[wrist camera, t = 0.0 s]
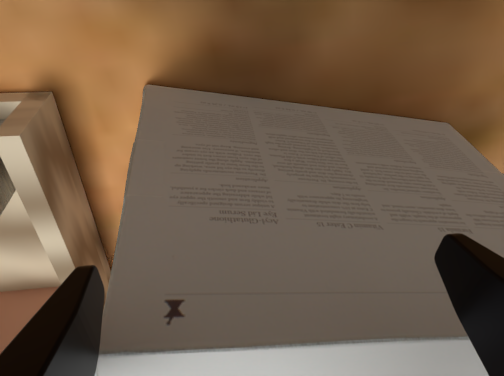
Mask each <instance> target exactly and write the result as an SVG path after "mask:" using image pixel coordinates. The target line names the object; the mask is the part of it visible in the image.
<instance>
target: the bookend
mask: <svg viewBox="0 0 504 376" xmlns="http://www.w3.org/2000/svg"><path fill="white" fill-rule="evenodd" d="M5 120H6V119H0V126H1V125H2V123H3V122H4V121H5ZM15 191H16V188H15V186H14V184H13V182H12V180H11V178H10V176H9V174H8V172H7V169H6V167H5V165H4V163H3V161H2V159H1V157H0V216H1V214H2V212H3V211H4V209H5V207H6V206H7V204H8V202H9V201H10V199H11V197H12V196H13V194H14V193H15Z"/></svg>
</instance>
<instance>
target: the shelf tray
mask: <svg viewBox="0 0 504 376" xmlns="http://www.w3.org/2000/svg"><path fill="white" fill-rule="evenodd" d="M0 119H6V120H5V121H4V122H3V123H2V125H1V126H0V157H1V159H2V161H3V163H4V165H5V167H6V169H7V172H8V174H9V176H10V178H11V180H12V182H13V184H14V186H15V188H16V191H15V193H14V194H13V196H12V197H11V199H10V201H9V202H8V204H7V206H6V207H5V209H4V211H3V212H2V214H1V216H0V292H5V291H15V290H26V289H37V288H47V287H58V286H60V285H61V284H62V283H63V282H64V280H65V279H66V278H67V277H68V276H69V275H70V274H71V272H72V271H73V270H74V269H75V268H76V267H78V266H86V265H95V266H96V267H97V269H98V271H99V274H100V277H101V279H102V282H103V285H104V291H105V295H104V305H105V301H106V296H107V291H108V285H109V280H110V275H111V270H110V267H109V264H108V261H107V258H106V255H105V252H104V249H103V245H102V242H101V239H100V236H99V233H98V230H97V227H96V224H95V221H94V218H93V215H92V212H91V209H90V206H89V203H88V200H87V197H86V194H85V191H84V188H83V185H82V182H81V178H80V175H79V172H78V169H77V166H76V163H75V160H74V157H73V154H72V151H71V148H70V145H69V142H68V139H67V136H66V133H65V130H64V127H63V124H62V121H61V118H60V114H59V111H58V108H57V105H56V102H55V99H54V96H53V93H52V92H21V93H0ZM103 310H104V306H103Z"/></svg>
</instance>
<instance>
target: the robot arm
mask: <svg viewBox="0 0 504 376" xmlns="http://www.w3.org/2000/svg"><path fill="white" fill-rule="evenodd" d="M434 260H435V264H436V266H437V269H438V271H439V274H440V276H441V279H442V281H443V283H444V286H445V288H446V291H447V293H448V296H449V298H450V300H451V303H452V305H453V308H454V310H455V312H456V314H457V316H458V318H459V320H460V322H461V324H462V326H463V328H464V330H465V332H466V334H467V335H468V337H469V339H470V341H471V343H472V345H473V347H474V349H475V351H476V352H477V354H478V356H479V358H480V360H481V362H482V364H483V366H484V367H485V369H486V371H487V373H488V375H489V376H504V258H503V257H502V256H500V255H498V254H497V253H495V252H493V251H492V250H490V249H488V248H486V247H485V246H483V245H481V244H480V243H478V242H476V241H475V240H473V239H471V238H469V237H468V236H466V235H464V234H462V233H453V234H446V235H445V236H444V237H443V239H442V241H441V243H440V245H439V247H438V249H437V251H436V253H435V256H434ZM104 295H105V291H104V285H103V282H102V279H101V277H100V274H99V271H98V269H97V267H96V266H95V265H86V266H78V267H76V268H75V269H74V270H73V271H72V272H71V274H70V275H69V276H68V277H67V278H66V279H65V280H64V282H63V283H62V284H61V285H60V286H59V287H58V288H57V290H56V291H55V292H54V293H53V294H52V295H51V296H50V298H49V299H48V300H47V301H46V302H45V303H44V304H43V306H42V307H41V308H40V309H39V310H38V311H37V312H36V314H35V315H34V316H33V317H32V318H31V319H30V320H29V322H28V323H27V324H26V325H25V326H24V327H23V328H22V330H21V331H20V332H19V333H18V334H17V335H16V336H15V337H14V339H13V340H12V341H11V342H10V343H9V344H8V345H7V347H6V348H5V349H4V350H3V351H2V352H1V353H0V376H95V372H96V368H97V362H98V356H99V348H100V338H101V327H102V317H103V306H104Z"/></svg>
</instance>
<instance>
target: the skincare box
mask: <svg viewBox="0 0 504 376" xmlns="http://www.w3.org/2000/svg"><path fill="white" fill-rule="evenodd" d="M453 233H462V234H464V235H466V236H468V237H469V238H471V239H473V240H475V241H476V242H478V243H480V244H481V245H483V246H485V247H486V248H488V249H490V250H492V251H493V252H495V253H497V254H498V255H500V256H502V257H503V258H504V174H503V173H501V172H500V171H499V170H498V169H497V168H496V167H495V166H493V165H492V164H491V163H490V162H489V161H488V160H487V159H486V158H485V157H484V156H483V155H482V154H481V153H480V152H479V151H478V150H477V149H476V148H475V147H473V146H472V145H471V144H470V143H469V142H468V141H467V140H466V139H465V138H464V137H463V136H462V135H461V134H460V133H458V132H457V131H456V130H455V129H454V128H453V127H452V126H451V125H450V124H448V123H445V122H436V121H429V120H421V119H414V118H406V117H399V116H390V115H383V114H375V113H366V112H359V111H352V110H344V109H337V108H329V107H322V106H314V105H306V104H298V103H291V102H283V101H275V100H267V99H259V98H251V97H243V96H235V95H227V94H219V93H211V92H204V91H196V90H188V89H180V88H172V87H164V86H157V85H145V87H144V89H143V99H142V106H141V113H140V118H139V123H138V128H137V133H136V138H135V142H134V143H133V148H132V153H131V158H130V163H129V168H128V174H127V180H126V187H125V194H124V202H123V209H122V215H121V220H120V226H119V232H118V238H117V243H116V249H115V254H114V259H113V264H112V270H111V275H110V280H109V285H108V291H107V296H106V301H105V305H104V310H103V317H102V327H101V338H100V348H99V356H98V362H97V368H96V372H95V376H489V375H488V373H487V371H486V369H485V367H484V366H483V364H482V362H481V360H480V358H479V356H478V354H477V352H476V351H475V349H474V347H473V345H472V343H471V341H470V339H469V337H468V335H467V334H466V332H465V330H464V328H463V326H462V324H461V322H460V320H459V318H458V316H457V314H456V312H455V310H454V308H453V305H452V303H451V300H450V298H449V296H448V293H447V291H446V288H445V286H444V283H443V281H442V279H441V276H440V274H439V271H438V269H437V266H436V264H435V260H434V256H435V253H436V251H437V249H438V247H439V245H440V243H441V241H442V239H443V237H444V236H445V235H446V234H453Z"/></svg>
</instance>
